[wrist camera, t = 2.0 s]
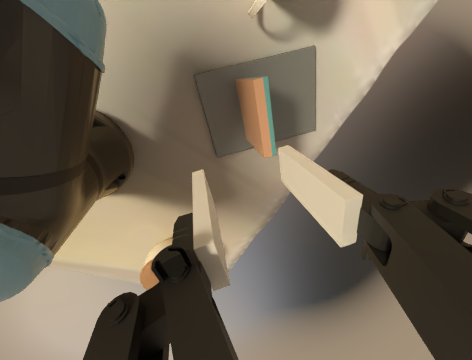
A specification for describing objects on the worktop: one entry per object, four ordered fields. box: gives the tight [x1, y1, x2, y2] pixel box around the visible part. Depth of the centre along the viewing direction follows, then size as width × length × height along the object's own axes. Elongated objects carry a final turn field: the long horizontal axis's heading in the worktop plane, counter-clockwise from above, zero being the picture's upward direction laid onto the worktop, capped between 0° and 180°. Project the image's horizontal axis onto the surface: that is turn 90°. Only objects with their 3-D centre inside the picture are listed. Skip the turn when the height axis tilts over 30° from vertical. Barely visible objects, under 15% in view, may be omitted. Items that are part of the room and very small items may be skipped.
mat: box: [194, 46, 315, 157], centre depth 34 cm, size 20×14×1 cm
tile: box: [235, 76, 276, 158], centre depth 29 cm, size 2×10×10 cm, turn 12°
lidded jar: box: [140, 238, 173, 290], centre depth 41 cm, size 11×11×9 cm
